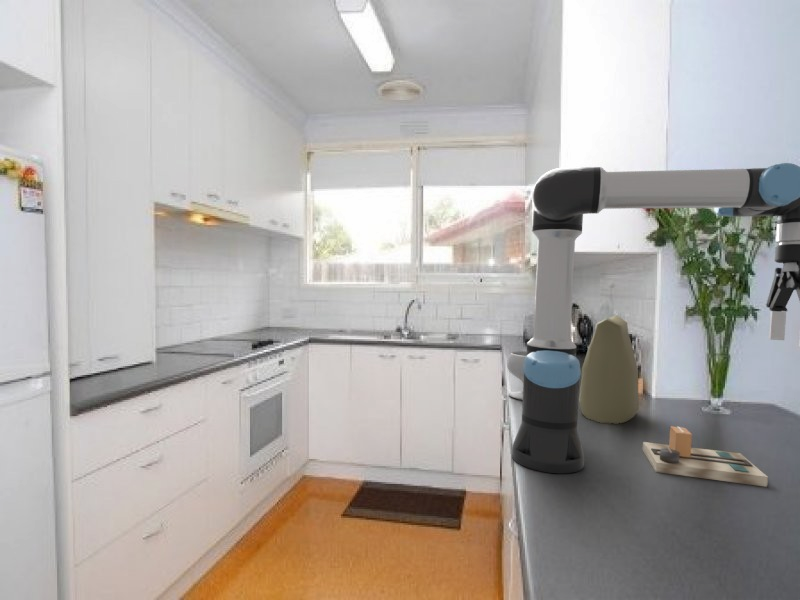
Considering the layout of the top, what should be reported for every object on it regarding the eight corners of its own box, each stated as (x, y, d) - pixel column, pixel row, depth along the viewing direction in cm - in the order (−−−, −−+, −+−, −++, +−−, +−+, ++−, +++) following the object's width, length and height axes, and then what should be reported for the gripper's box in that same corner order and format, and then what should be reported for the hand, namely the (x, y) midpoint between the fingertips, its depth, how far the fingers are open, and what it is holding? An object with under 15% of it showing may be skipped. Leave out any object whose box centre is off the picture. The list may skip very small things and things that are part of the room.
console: (655, 471, 101) (657, 452, 101) (642, 450, 115) (643, 432, 115) (767, 486, 96) (768, 466, 96) (739, 461, 109) (740, 443, 109)
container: (585, 401, 161) (590, 312, 160) (641, 410, 153) (647, 316, 151) (570, 417, 141) (575, 315, 140) (633, 429, 132) (639, 320, 131)
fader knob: (674, 455, 104) (676, 431, 104) (669, 447, 109) (670, 425, 109) (690, 457, 104) (691, 433, 103) (683, 449, 108) (685, 427, 108)
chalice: (548, 395, 169) (550, 352, 168) (547, 404, 156) (550, 358, 155) (507, 391, 173) (509, 349, 173) (504, 399, 160) (506, 354, 159)
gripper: (855, 239, 90) (847, 352, 90) (790, 248, 113) (784, 338, 114) (807, 238, 92) (799, 349, 93) (753, 248, 116) (747, 336, 117)
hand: (790, 343), depth 103 cm, fingers open, 13 cm apart
